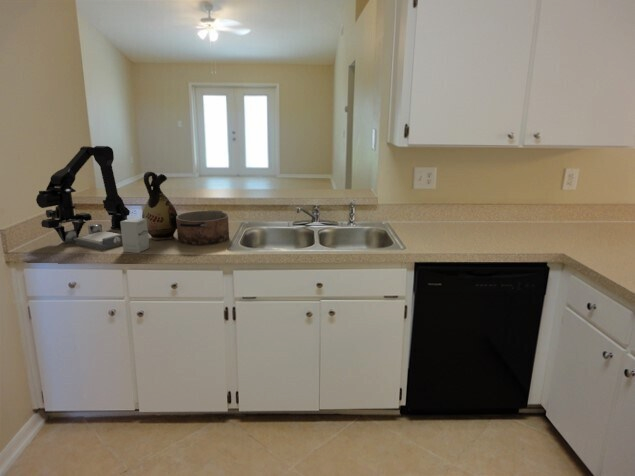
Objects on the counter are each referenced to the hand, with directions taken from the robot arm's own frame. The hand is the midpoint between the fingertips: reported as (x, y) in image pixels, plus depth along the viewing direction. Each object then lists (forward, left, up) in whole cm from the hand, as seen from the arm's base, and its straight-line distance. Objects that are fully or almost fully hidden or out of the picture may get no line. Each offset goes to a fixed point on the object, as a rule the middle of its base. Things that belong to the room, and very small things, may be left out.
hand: (70, 239), depth 181 cm
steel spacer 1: (0, 0, -1) cm, 1 cm away
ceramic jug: (-24, +28, -1) cm, 37 cm away
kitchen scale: (-6, +14, -1) cm, 15 cm away
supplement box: (-6, +34, -1) cm, 35 cm away
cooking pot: (-33, +45, -1) cm, 56 cm away
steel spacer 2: (-12, 0, -1) cm, 12 cm away
